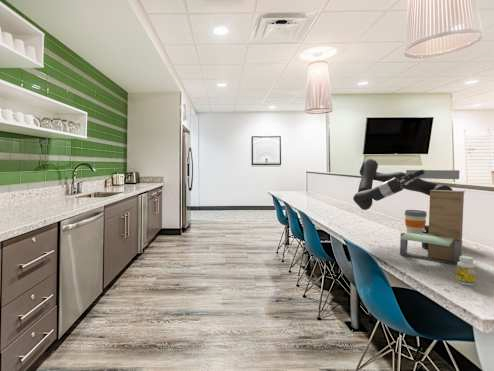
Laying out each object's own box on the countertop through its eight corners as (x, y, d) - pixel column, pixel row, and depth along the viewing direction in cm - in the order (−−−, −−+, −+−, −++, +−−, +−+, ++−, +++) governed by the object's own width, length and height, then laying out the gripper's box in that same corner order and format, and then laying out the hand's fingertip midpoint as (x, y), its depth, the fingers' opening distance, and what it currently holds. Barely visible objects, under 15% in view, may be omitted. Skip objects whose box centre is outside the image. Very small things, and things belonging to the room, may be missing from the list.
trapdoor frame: (401, 253, 141) (402, 232, 141) (461, 264, 125) (462, 240, 124) (399, 254, 139) (400, 233, 138) (460, 265, 123) (461, 242, 122)
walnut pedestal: (430, 253, 141) (432, 189, 139) (461, 259, 132) (464, 191, 131) (427, 257, 134) (429, 190, 133) (459, 263, 126) (462, 192, 124)
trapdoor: (408, 233, 138) (408, 231, 138) (454, 239, 126) (454, 237, 126) (400, 239, 128) (400, 236, 128) (449, 246, 115) (449, 243, 115)
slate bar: (408, 177, 144) (408, 170, 144) (459, 179, 130) (459, 170, 130) (405, 178, 141) (406, 170, 141) (458, 179, 127) (458, 170, 127)
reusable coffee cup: (426, 233, 188) (426, 210, 188) (426, 236, 178) (426, 213, 177) (404, 230, 195) (405, 209, 194) (403, 234, 184) (404, 211, 184)
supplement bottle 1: (436, 247, 152) (436, 225, 152) (437, 250, 147) (437, 227, 146) (421, 245, 156) (421, 224, 155) (421, 248, 150) (422, 226, 149)
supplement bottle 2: (478, 285, 102) (479, 259, 101) (463, 285, 102) (464, 259, 101) (467, 280, 107) (468, 255, 106) (452, 280, 107) (453, 255, 106)
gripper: (398, 193, 152) (431, 177, 141) (390, 194, 142) (425, 178, 131) (391, 180, 154) (423, 164, 144) (382, 181, 144) (416, 164, 133)
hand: (424, 171), depth 137 cm, fingers closed on slate bar, 4 cm apart
